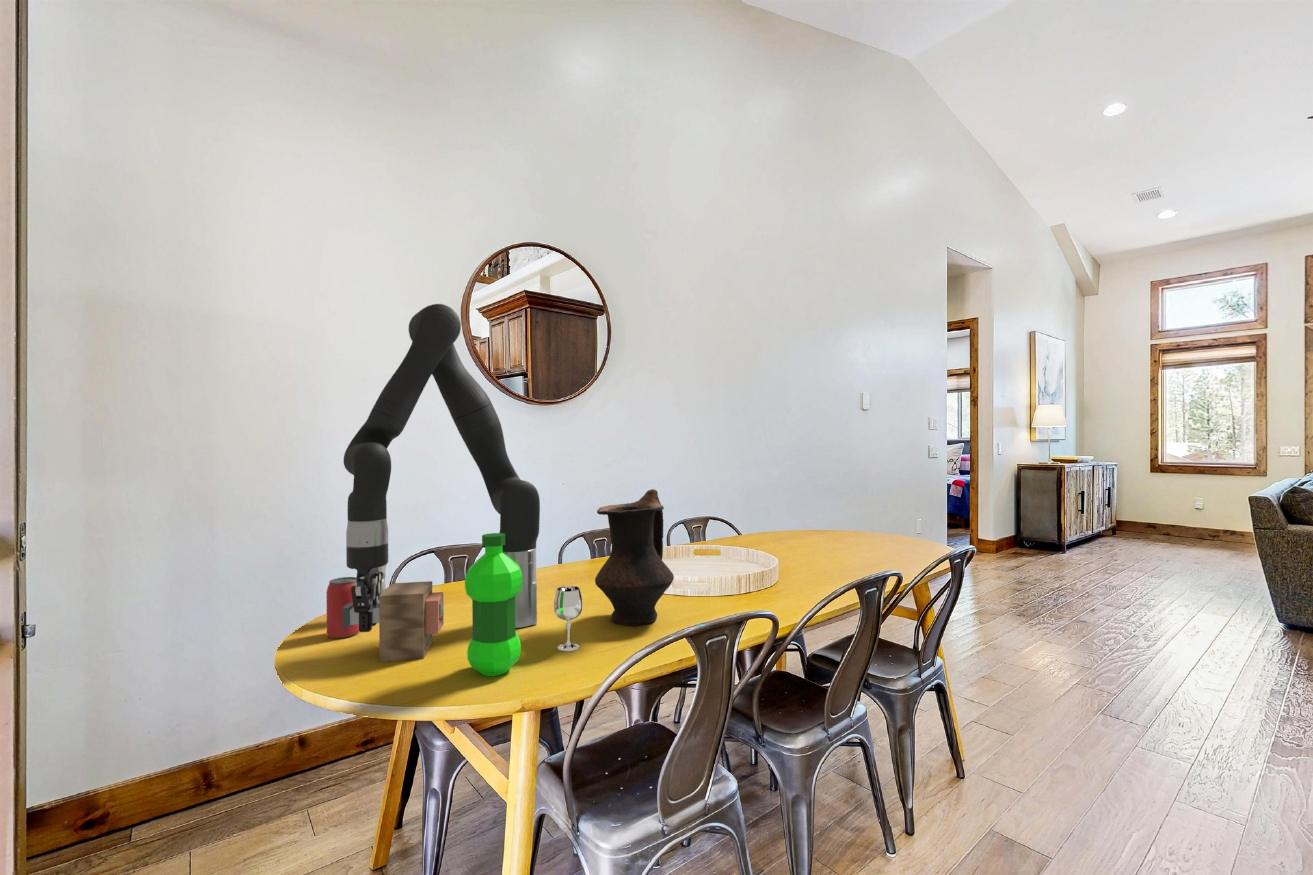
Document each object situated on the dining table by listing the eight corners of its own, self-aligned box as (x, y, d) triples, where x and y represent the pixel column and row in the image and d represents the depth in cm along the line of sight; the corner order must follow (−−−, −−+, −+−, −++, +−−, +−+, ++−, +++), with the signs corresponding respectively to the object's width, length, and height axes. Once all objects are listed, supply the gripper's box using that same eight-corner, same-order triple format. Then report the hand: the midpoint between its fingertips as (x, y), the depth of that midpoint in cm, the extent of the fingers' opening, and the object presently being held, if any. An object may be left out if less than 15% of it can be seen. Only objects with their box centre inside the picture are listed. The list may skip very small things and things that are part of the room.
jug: (648, 637, 125) (647, 497, 125) (578, 624, 134) (578, 494, 134) (692, 612, 143) (691, 489, 143) (628, 602, 153) (627, 487, 153)
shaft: (443, 615, 121) (443, 597, 122) (440, 621, 118) (440, 602, 118) (348, 621, 118) (348, 602, 118) (342, 627, 114) (341, 608, 114)
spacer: (443, 623, 123) (443, 591, 123) (438, 633, 116) (438, 600, 116) (431, 624, 122) (431, 592, 122) (425, 634, 116) (425, 601, 116)
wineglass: (559, 654, 116) (559, 593, 116) (550, 645, 121) (550, 587, 121) (586, 649, 119) (586, 590, 119) (577, 640, 124) (576, 583, 124)
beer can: (346, 640, 125) (345, 584, 125) (319, 638, 126) (319, 582, 126) (367, 630, 131) (366, 576, 131) (341, 628, 133) (341, 575, 133)
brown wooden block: (432, 641, 124) (432, 581, 124) (423, 658, 114) (423, 593, 114) (392, 643, 122) (391, 583, 122) (379, 661, 113) (379, 595, 113)
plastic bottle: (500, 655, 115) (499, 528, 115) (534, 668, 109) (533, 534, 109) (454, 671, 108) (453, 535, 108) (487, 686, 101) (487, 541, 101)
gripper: (378, 547, 111) (378, 638, 111) (396, 535, 125) (396, 616, 125) (335, 549, 109) (335, 641, 109) (357, 537, 123) (358, 619, 123)
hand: (368, 628), depth 117 cm, fingers closed on shaft, 3 cm apart
